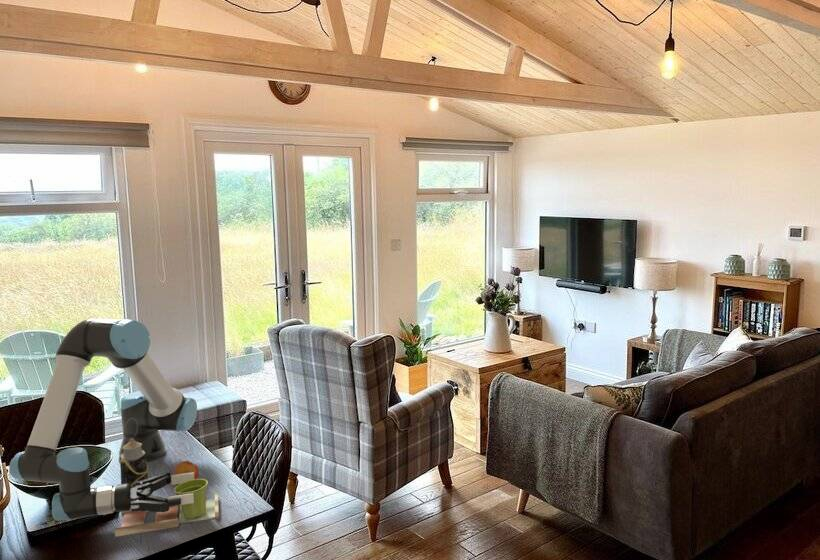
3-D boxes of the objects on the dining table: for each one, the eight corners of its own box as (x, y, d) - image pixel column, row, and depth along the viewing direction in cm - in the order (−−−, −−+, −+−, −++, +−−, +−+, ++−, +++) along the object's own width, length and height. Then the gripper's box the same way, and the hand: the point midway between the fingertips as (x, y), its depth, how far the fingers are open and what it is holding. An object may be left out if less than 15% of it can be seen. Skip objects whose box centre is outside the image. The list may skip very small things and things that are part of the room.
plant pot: (200, 522, 176) (196, 492, 176) (171, 521, 179) (167, 492, 178) (217, 506, 185) (213, 478, 185) (190, 506, 188) (186, 478, 187)
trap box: (121, 511, 185) (121, 505, 185) (218, 497, 193) (217, 491, 193) (115, 536, 172) (114, 530, 171) (218, 520, 180) (218, 513, 180)
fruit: (205, 482, 203) (203, 459, 201) (186, 494, 195) (185, 470, 194) (186, 478, 206) (185, 455, 205) (168, 489, 199) (166, 465, 198)
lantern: (133, 487, 200) (127, 412, 196) (155, 489, 199) (150, 414, 195) (115, 500, 192) (109, 423, 188) (139, 502, 190) (133, 424, 186)
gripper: (121, 490, 189) (195, 480, 196) (110, 534, 166) (194, 520, 172) (119, 467, 188) (193, 457, 194) (107, 507, 164) (192, 494, 171)
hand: (194, 487), depth 183 cm, fingers open, 13 cm apart
